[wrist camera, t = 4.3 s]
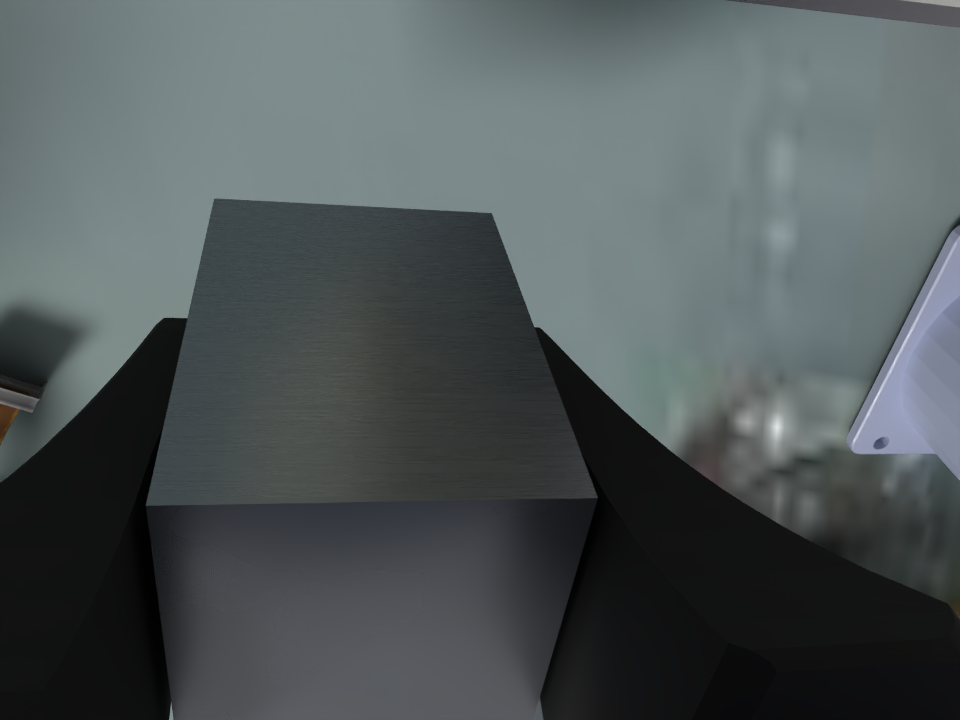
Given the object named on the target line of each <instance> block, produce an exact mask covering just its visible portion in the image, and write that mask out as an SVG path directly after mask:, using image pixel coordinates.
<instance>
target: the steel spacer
mask: <svg viewBox="0 0 960 720" xmlns="http://www.w3.org/2000/svg"><path fill="white" fill-rule="evenodd" d="M597 500H598V497H597V494H596V492H595V489H594V486H593V484H592V481H591V478H590V475H589V473H588V470H587V467H586V465H585V462H584V459H583V457H582V454H581V451H580V449H579V446H578V443H577V441H576V438H575V435H574V433H573V430H572V427H571V424H570V422H569V419H568V416H567V414H566V411H565V408H564V406H563V403H562V400H561V398H560V395H559V392H558V390H557V387H556V384H555V382H554V379H553V376H552V374H551V371H550V368H549V365H548V363H547V360H546V357H545V355H544V352H543V349H542V347H541V344H540V341H539V339H538V336H537V333H536V331H535V328H534V325H533V323H532V320H531V317H530V314H529V312H528V309H527V306H526V304H525V301H524V298H523V296H522V293H521V290H520V288H519V285H518V282H517V280H516V277H515V274H514V272H513V269H512V266H511V264H510V261H509V258H508V255H507V253H506V250H505V247H504V245H503V242H502V239H501V237H500V234H499V231H498V229H497V226H496V223H495V221H494V218H493V215H492V213H477V212H458V211H440V210H421V209H402V208H383V207H364V206H345V205H327V204H308V203H289V202H270V201H251V200H232V199H214V202H213V206H212V211H211V215H210V220H209V224H208V229H207V233H206V238H205V242H204V247H203V251H202V256H201V260H200V265H199V269H198V274H197V278H196V283H195V287H194V292H193V296H192V301H191V305H190V310H189V314H188V319H187V323H186V328H185V332H184V337H183V341H182V346H181V350H180V355H179V359H178V364H177V368H176V373H175V377H174V382H173V386H172V390H171V395H170V399H169V404H168V408H167V413H166V417H165V422H164V426H163V431H162V435H161V440H160V444H159V449H158V453H157V458H156V462H155V467H154V471H153V476H152V480H151V485H150V489H149V494H148V498H147V503H146V511H147V519H148V526H149V534H150V542H151V549H152V557H153V565H154V572H155V580H156V587H157V595H158V603H159V610H160V618H161V626H162V633H163V641H164V649H165V656H166V664H167V672H168V679H169V687H170V695H171V702H172V710H173V717H174V720H533V718H534V715H535V711H536V708H537V704H538V701H539V698H540V694H541V691H542V687H543V684H544V681H545V677H546V674H547V670H548V667H549V663H550V660H551V657H552V653H553V650H554V646H555V643H556V640H557V636H558V633H559V629H560V626H561V623H562V619H563V616H564V612H565V609H566V605H567V602H568V599H569V595H570V592H571V588H572V585H573V582H574V578H575V575H576V571H577V568H578V564H579V561H580V558H581V554H582V551H583V547H584V544H585V541H586V537H587V534H588V530H589V527H590V523H591V520H592V517H593V513H594V510H595V506H596V503H597Z"/></svg>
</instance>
